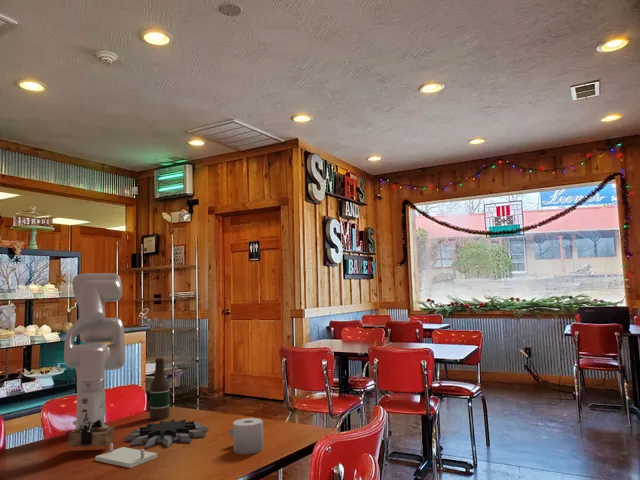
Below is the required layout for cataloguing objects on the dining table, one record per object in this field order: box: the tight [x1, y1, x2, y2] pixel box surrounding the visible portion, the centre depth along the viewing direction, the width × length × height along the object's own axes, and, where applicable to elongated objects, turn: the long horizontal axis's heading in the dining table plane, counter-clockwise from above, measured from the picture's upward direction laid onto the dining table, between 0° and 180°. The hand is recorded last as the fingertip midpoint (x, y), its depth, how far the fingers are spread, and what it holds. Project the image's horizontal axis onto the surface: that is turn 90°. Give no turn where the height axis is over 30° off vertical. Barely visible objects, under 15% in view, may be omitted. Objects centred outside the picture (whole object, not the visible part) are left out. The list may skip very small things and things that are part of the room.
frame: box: [67, 426, 115, 448], centre depth 163 cm, size 12×6×4 cm, turn 90°
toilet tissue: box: [227, 417, 265, 455], centre depth 159 cm, size 9×13×9 cm
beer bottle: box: [149, 357, 171, 421], centre depth 205 cm, size 8×8×24 cm
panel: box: [95, 442, 158, 469], centre depth 153 cm, size 16×10×4 cm, turn 60°
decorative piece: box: [123, 418, 211, 449], centre depth 176 cm, size 30×4×30 cm
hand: (91, 440), depth 163 cm, fingers closed on frame, 6 cm apart
